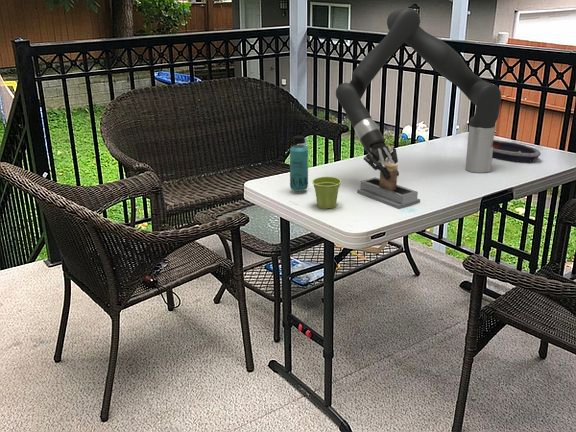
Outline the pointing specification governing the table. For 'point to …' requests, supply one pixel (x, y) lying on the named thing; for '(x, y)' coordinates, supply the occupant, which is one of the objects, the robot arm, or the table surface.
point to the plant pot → (326, 191)
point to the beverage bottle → (298, 164)
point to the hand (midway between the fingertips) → (392, 177)
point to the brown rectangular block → (391, 182)
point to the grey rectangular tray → (388, 194)
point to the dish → (514, 151)
